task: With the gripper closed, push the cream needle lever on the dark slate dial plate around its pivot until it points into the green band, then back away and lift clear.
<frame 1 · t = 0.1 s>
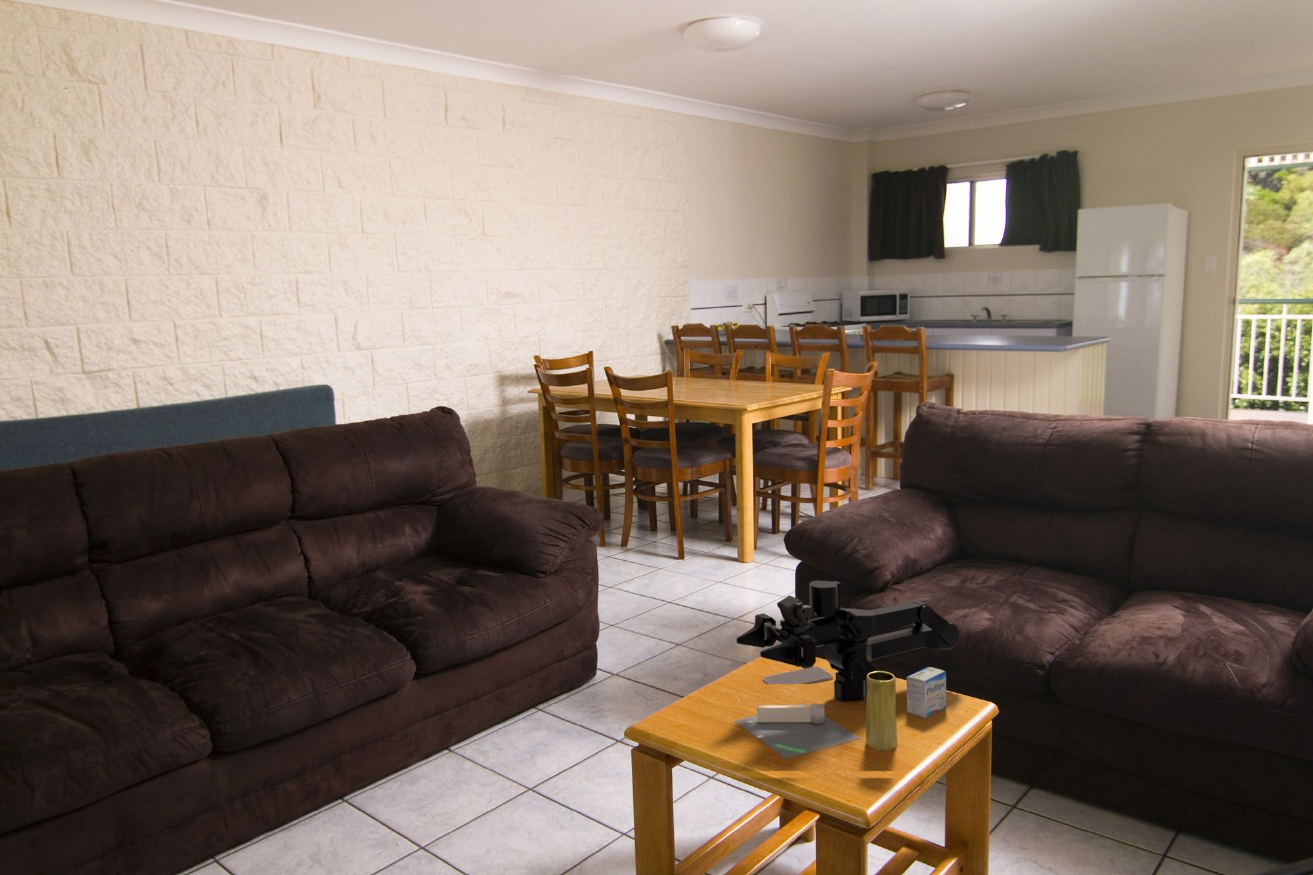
hand: (748, 647, 183), 17 cm above the table, tool horizontal, fingers open, 9 cm apart
vase: (881, 749, 174), on the table
smartphone: (797, 681, 209), on the table
dial plate: (795, 733, 181), on the table
lever: (790, 713, 184), point 3 cm above the table, hinge at -30.0°
medicine box: (926, 714, 188), on the table
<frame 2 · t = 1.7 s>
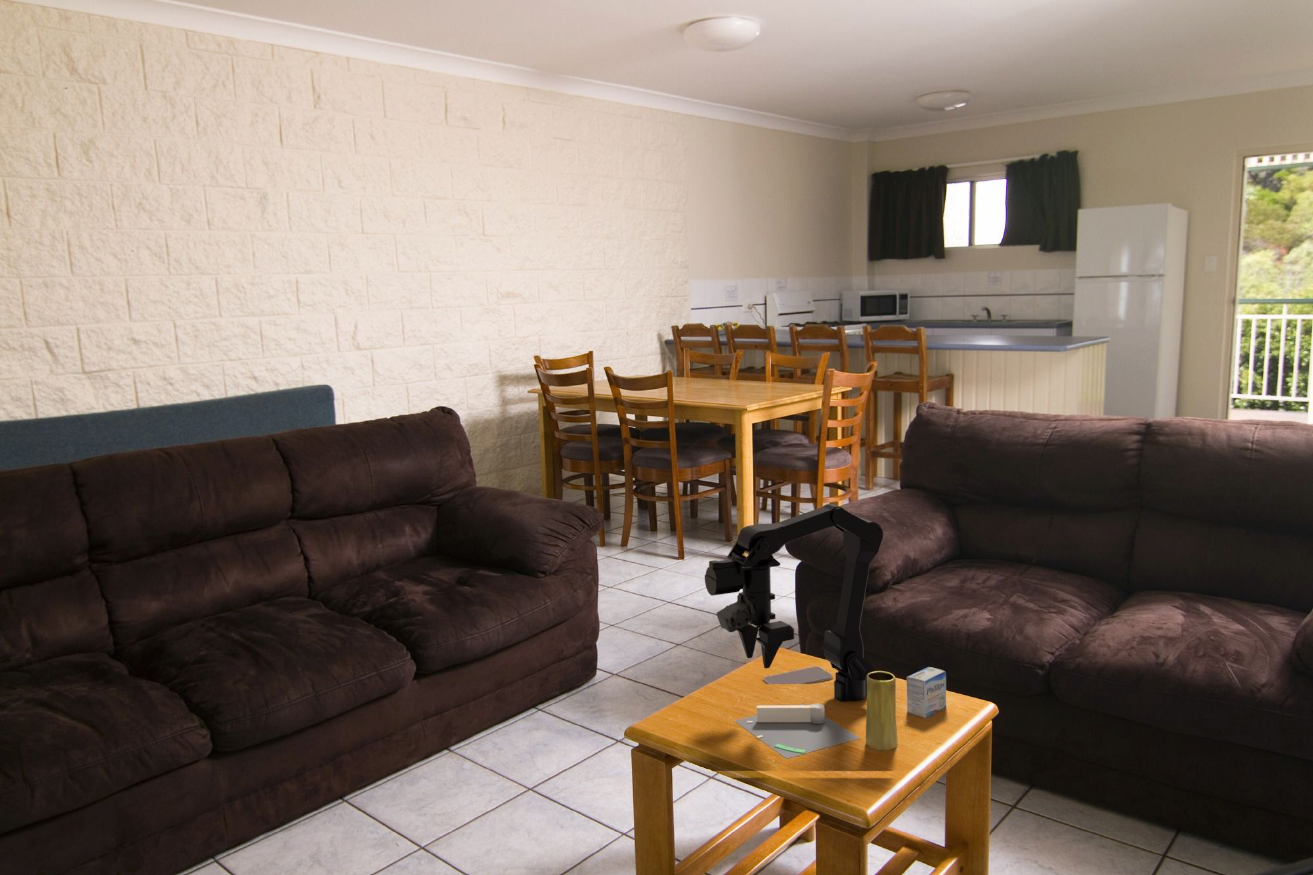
hand: (758, 662, 187), 12 cm above the table, tool pointing down, fingers open, 6 cm apart
nothing on the table moved.
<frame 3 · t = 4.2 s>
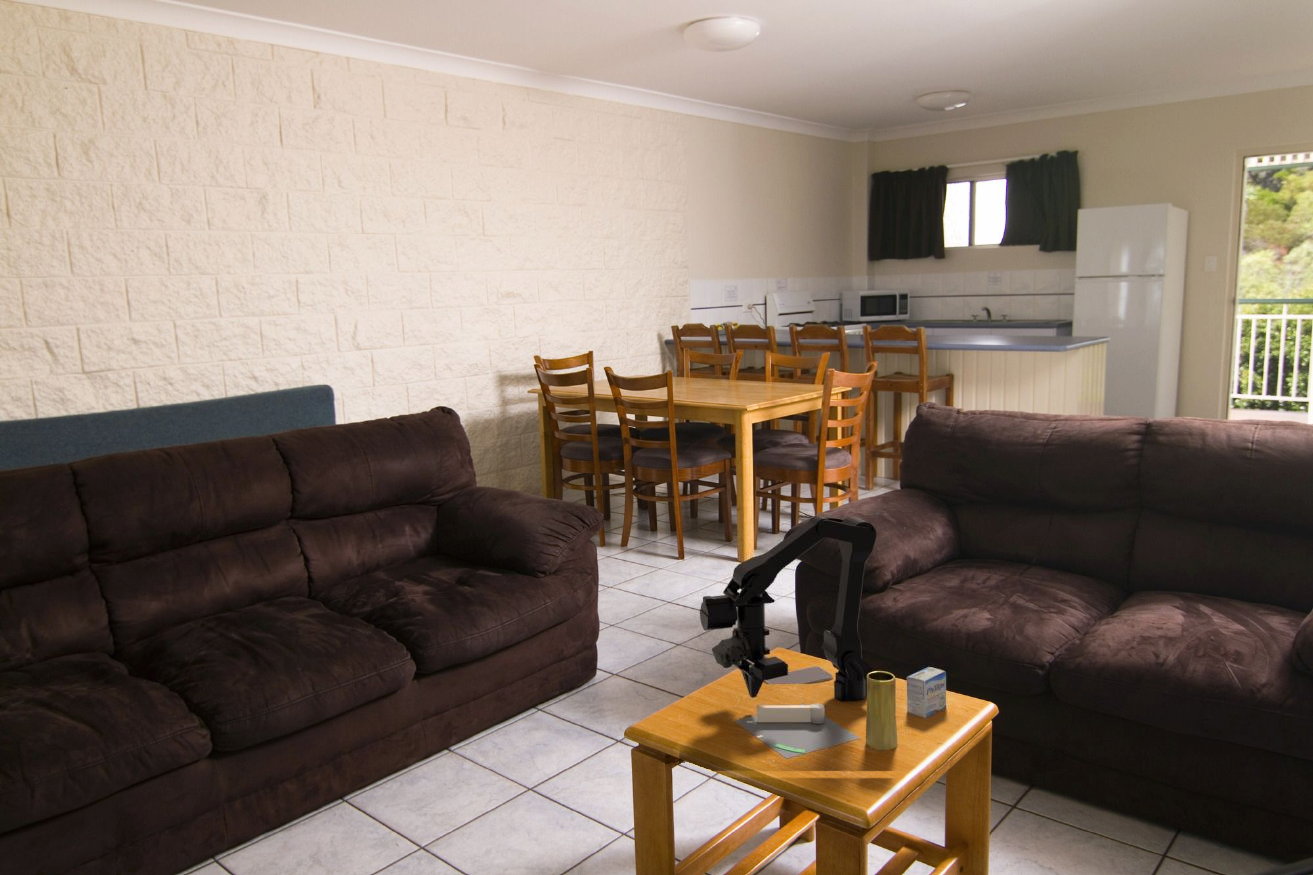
hand: (753, 696, 190), 4 cm above the table, tool pointing down, fingers closed
nothing on the table moved.
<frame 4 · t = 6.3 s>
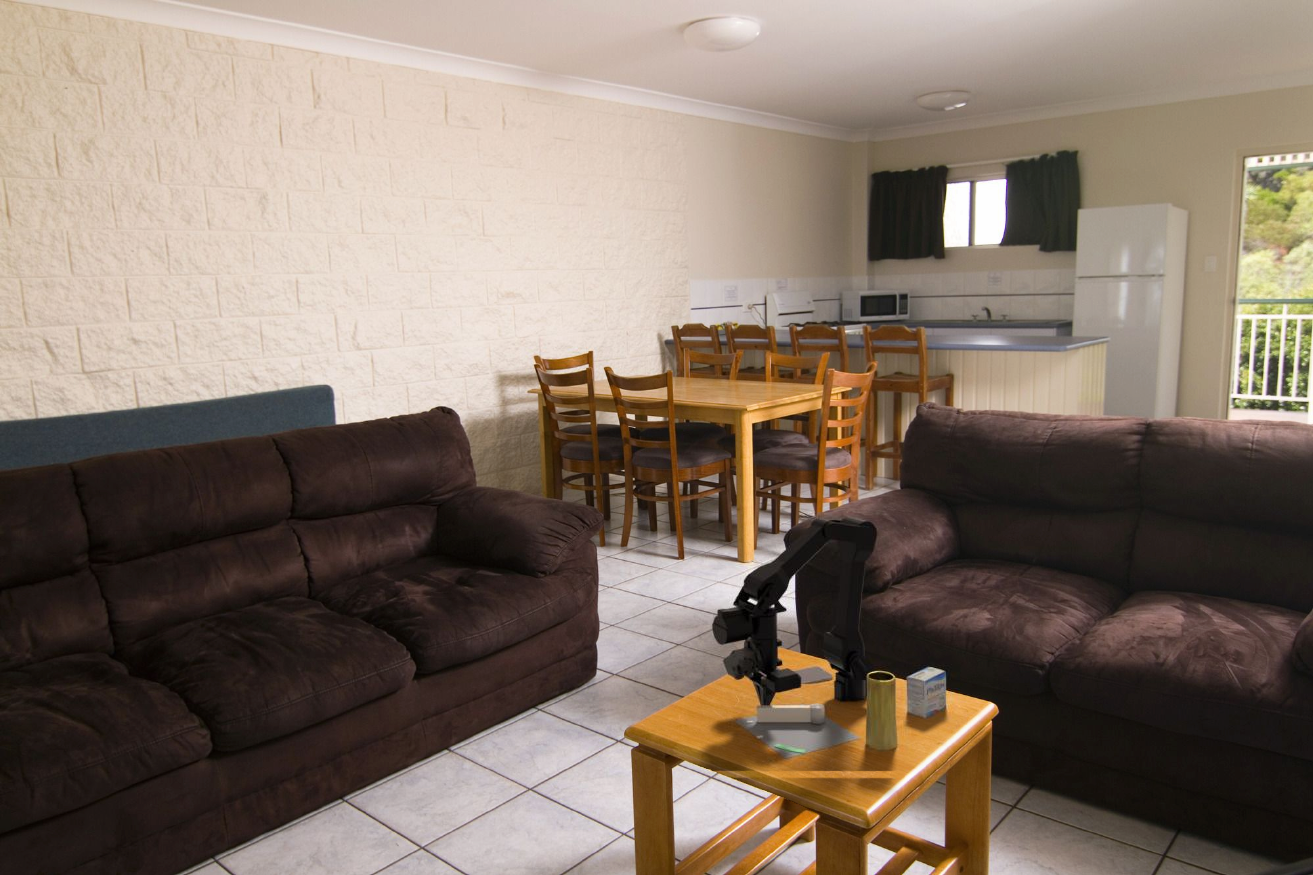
hand: (765, 709, 186), 3 cm above the table, tool pointing down, fingers closed
lever: (790, 713, 184), point 3 cm above the table, hinge at -30.0°, touching gripper
everything else where it was.
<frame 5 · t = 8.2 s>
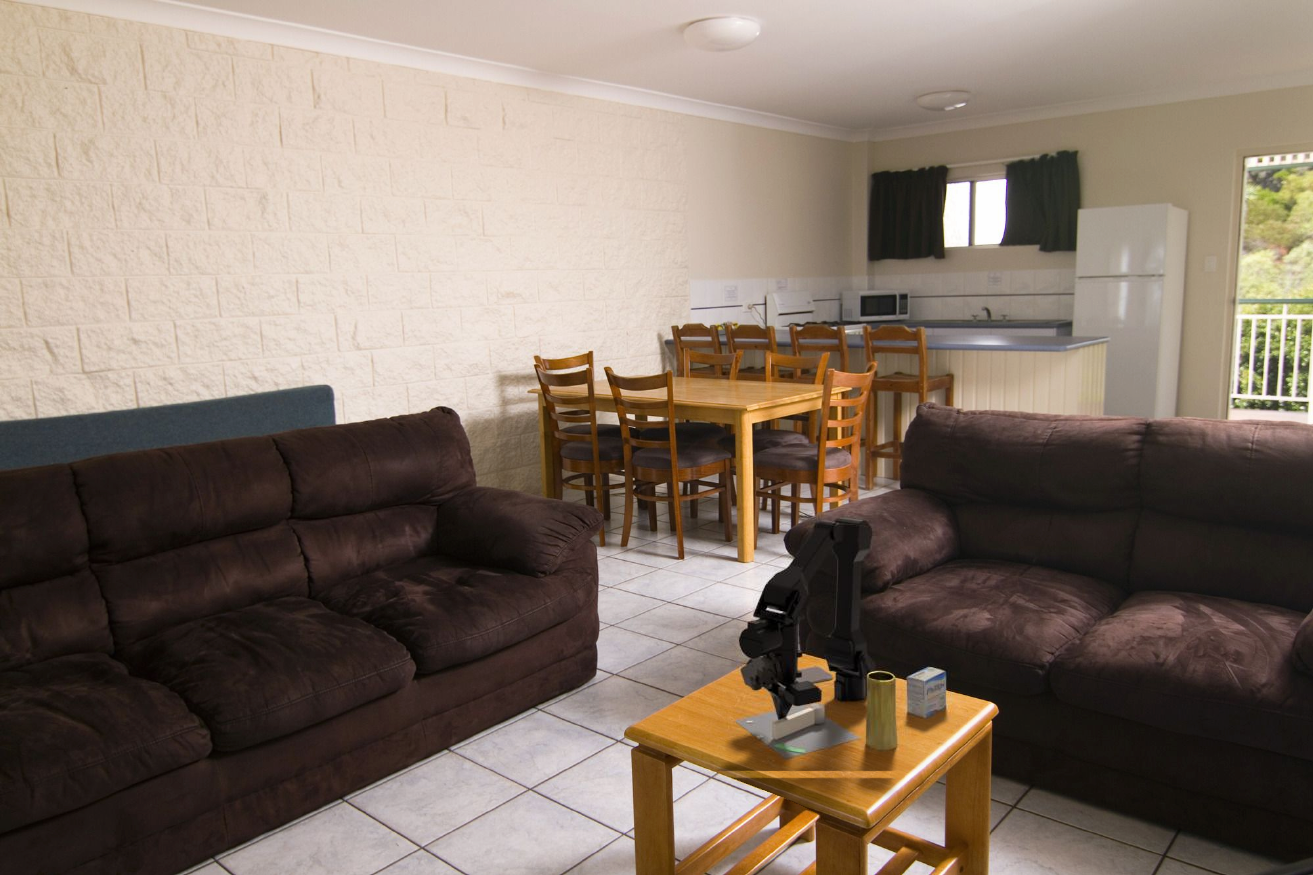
hand: (781, 721, 179), 3 cm above the table, tool pointing down, fingers closed
lever: (798, 721, 180), point 3 cm above the table, hinge at 11.7°, touching gripper
everything else where it was.
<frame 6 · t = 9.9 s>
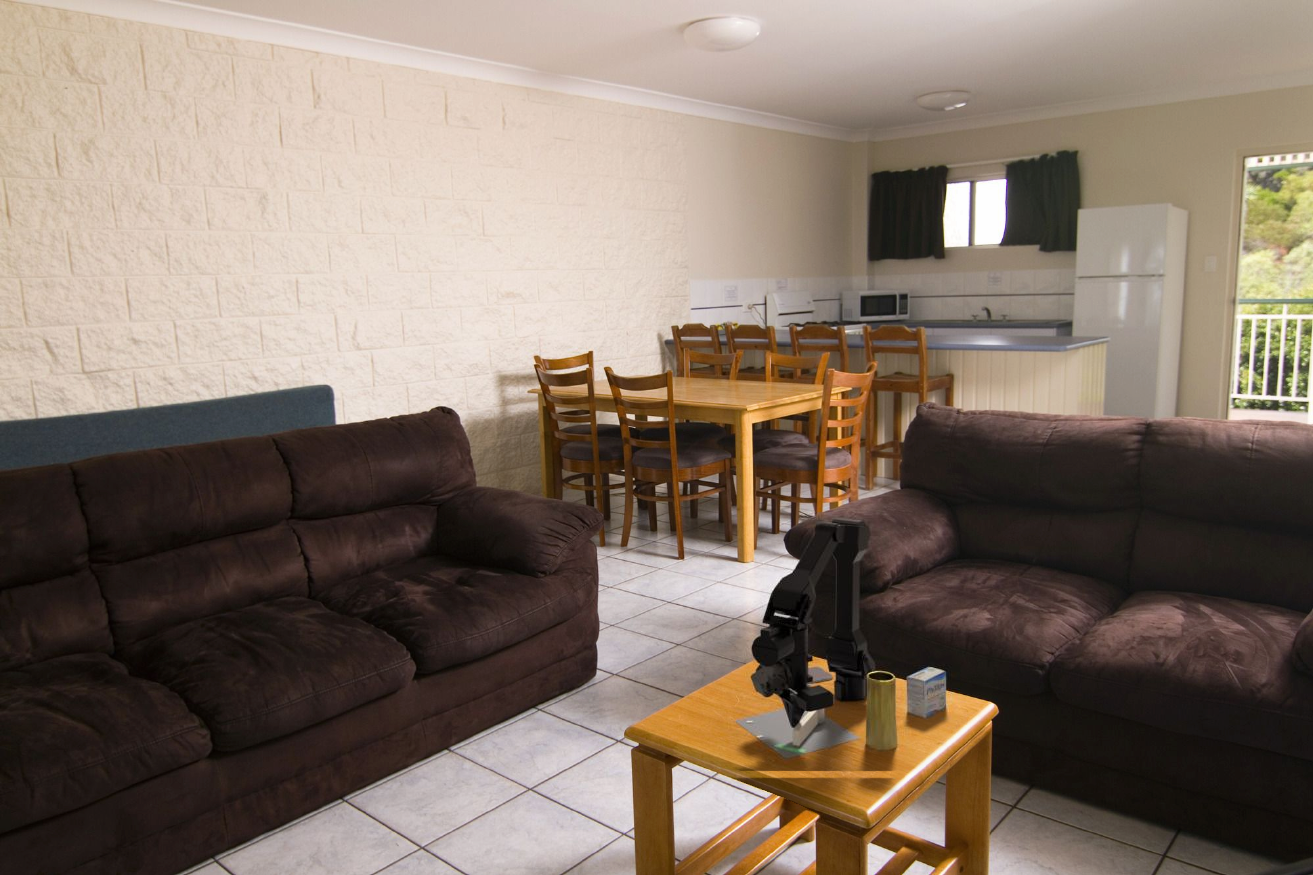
hand: (794, 727, 177), 3 cm above the table, tool pointing down, fingers closed
lever: (808, 723, 179), point 3 cm above the table, hinge at 35.2°, touching gripper
everything else where it was.
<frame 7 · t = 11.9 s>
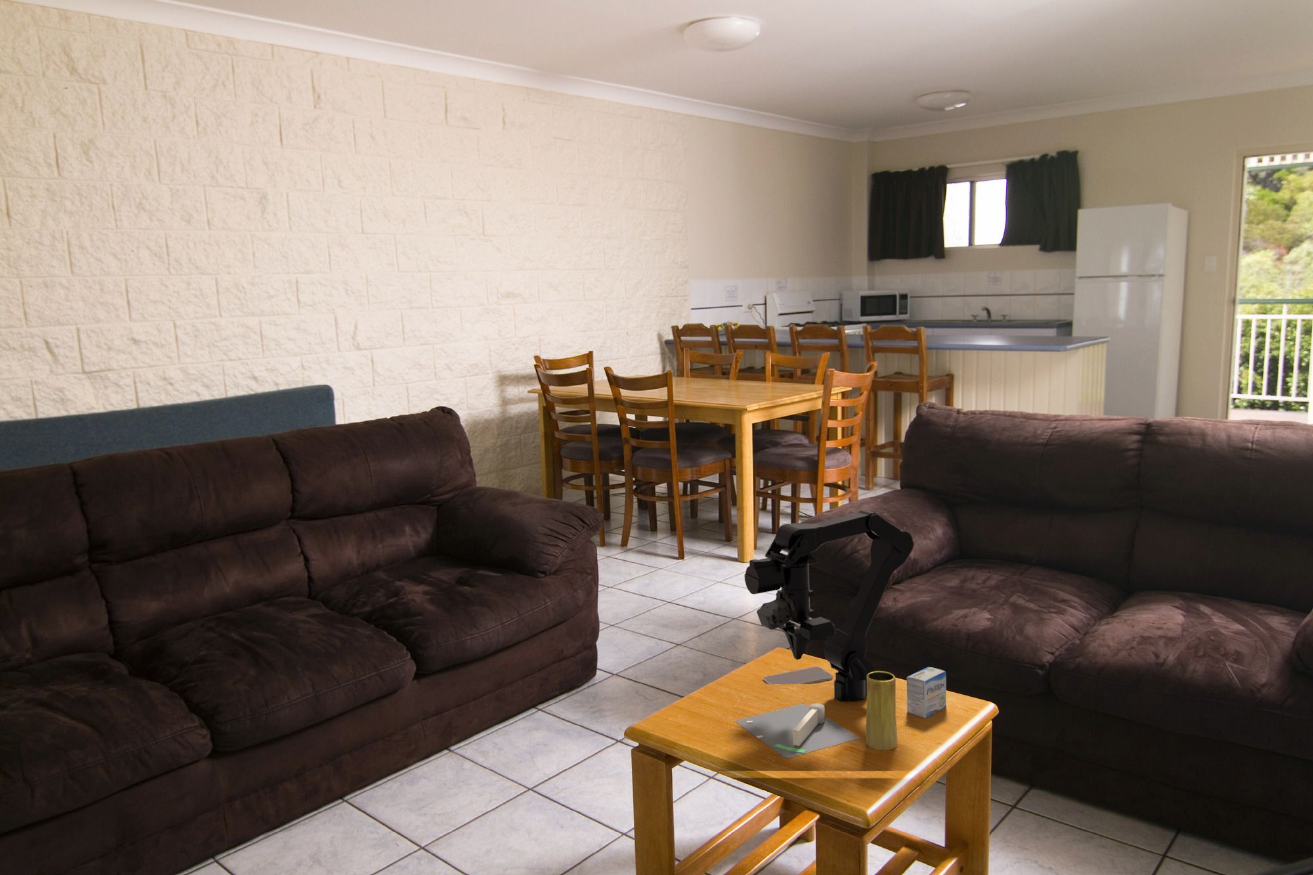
hand: (797, 658, 190), 12 cm above the table, tool pointing down, fingers closed
lever: (808, 723, 179), point 3 cm above the table, hinge at 35.6°
everything else where it was.
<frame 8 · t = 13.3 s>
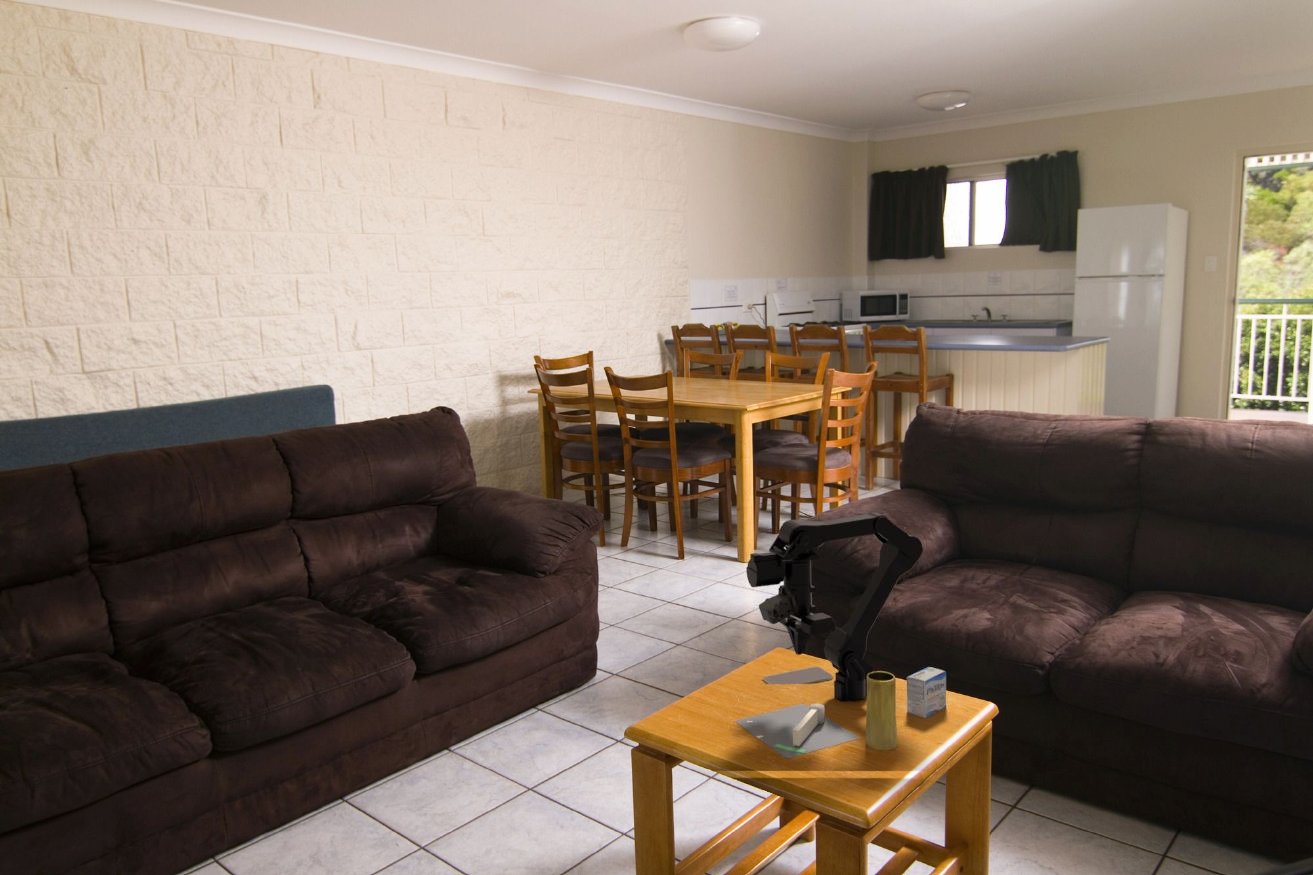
hand: (798, 654, 191), 12 cm above the table, tool pointing down, fingers closed
nothing on the table moved.
at the end: lever at +36° (first picture: -30°) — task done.
